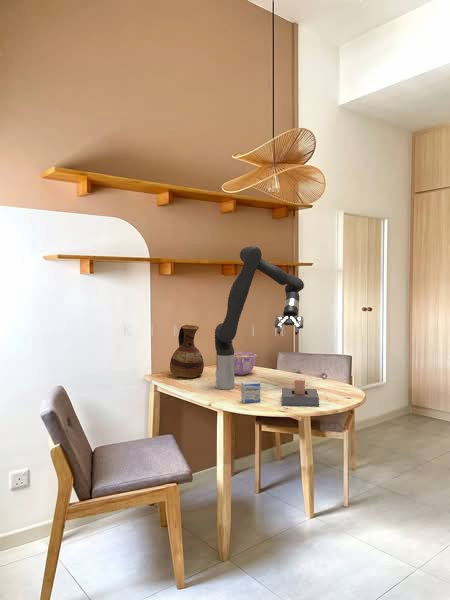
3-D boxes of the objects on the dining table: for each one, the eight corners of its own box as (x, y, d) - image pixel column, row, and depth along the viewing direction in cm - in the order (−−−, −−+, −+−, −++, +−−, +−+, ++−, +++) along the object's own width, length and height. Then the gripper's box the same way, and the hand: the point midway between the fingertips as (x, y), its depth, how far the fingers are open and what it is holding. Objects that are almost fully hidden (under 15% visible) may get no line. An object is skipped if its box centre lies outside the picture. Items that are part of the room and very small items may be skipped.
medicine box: (244, 403, 201) (244, 384, 201) (241, 401, 206) (241, 382, 205) (260, 402, 203) (260, 383, 203) (257, 399, 208) (257, 381, 207)
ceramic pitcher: (181, 381, 247) (180, 327, 246) (163, 375, 264) (163, 324, 263) (210, 377, 259) (210, 325, 258) (192, 371, 275) (191, 322, 274)
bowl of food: (251, 378, 255) (251, 357, 254) (218, 376, 261) (218, 356, 261) (260, 371, 274) (260, 352, 273) (228, 369, 280) (228, 351, 280)
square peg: (294, 400, 203) (294, 380, 203) (294, 397, 207) (294, 378, 207) (304, 400, 202) (304, 380, 202) (304, 398, 207) (304, 378, 206)
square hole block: (281, 405, 198) (281, 396, 198) (281, 396, 214) (281, 388, 213) (318, 406, 196) (318, 397, 196) (316, 397, 212) (316, 388, 211)
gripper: (276, 304, 234) (272, 328, 223) (304, 304, 230) (301, 329, 219) (278, 313, 239) (274, 337, 229) (305, 314, 235) (302, 338, 224)
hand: (287, 333), depth 224 cm, fingers open, 8 cm apart
